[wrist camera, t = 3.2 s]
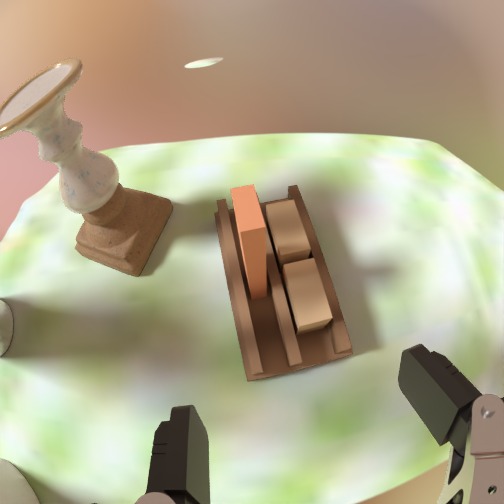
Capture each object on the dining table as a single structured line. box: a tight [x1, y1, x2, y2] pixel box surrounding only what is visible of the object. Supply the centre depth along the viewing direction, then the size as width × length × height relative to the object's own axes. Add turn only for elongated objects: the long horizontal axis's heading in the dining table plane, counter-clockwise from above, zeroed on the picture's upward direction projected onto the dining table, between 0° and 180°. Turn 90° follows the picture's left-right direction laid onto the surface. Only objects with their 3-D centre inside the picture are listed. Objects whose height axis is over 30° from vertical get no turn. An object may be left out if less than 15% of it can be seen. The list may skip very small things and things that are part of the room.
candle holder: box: [0, 58, 173, 277], centre depth 26 cm, size 11×11×24 cm
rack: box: [214, 185, 353, 381], centre depth 31 cm, size 20×11×4 cm, turn 12°
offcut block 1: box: [266, 199, 311, 273], centre depth 31 cm, size 6×3×4 cm, turn 12°
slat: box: [231, 184, 267, 300], centre depth 25 cm, size 4×2×14 cm, turn 12°
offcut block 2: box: [281, 258, 333, 335], centre depth 28 cm, size 6×3×4 cm, turn 12°
